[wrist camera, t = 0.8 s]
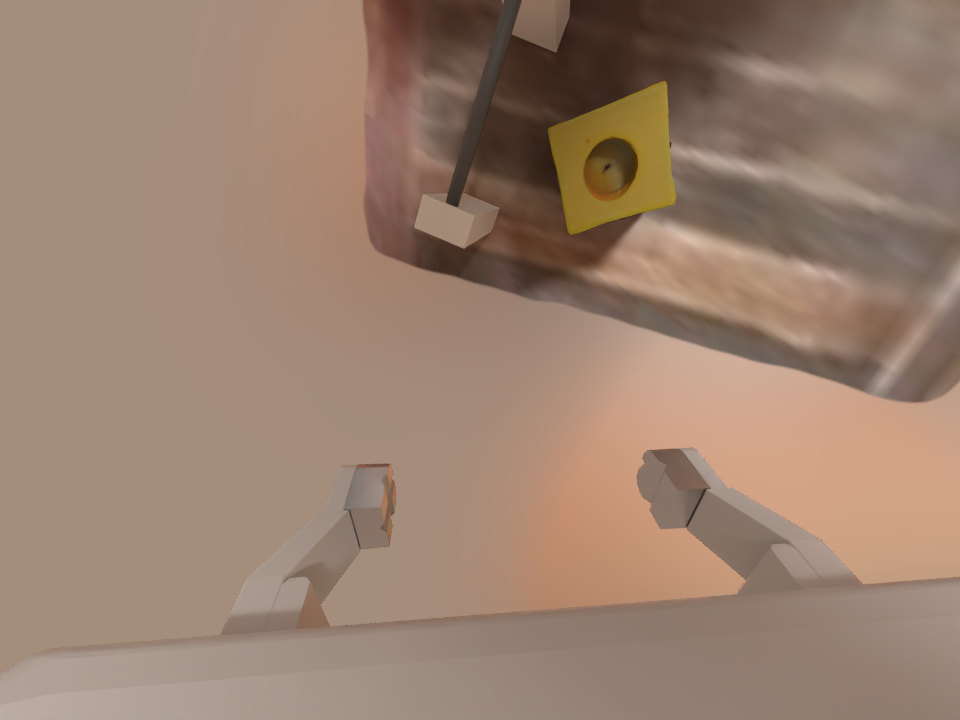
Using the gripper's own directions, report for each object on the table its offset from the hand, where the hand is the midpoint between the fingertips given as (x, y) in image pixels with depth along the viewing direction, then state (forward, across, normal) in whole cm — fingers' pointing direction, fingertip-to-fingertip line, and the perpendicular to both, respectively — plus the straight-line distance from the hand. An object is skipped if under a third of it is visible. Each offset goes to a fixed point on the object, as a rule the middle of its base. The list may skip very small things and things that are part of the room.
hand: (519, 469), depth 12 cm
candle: (+38, -16, -6) cm, 41 cm away
